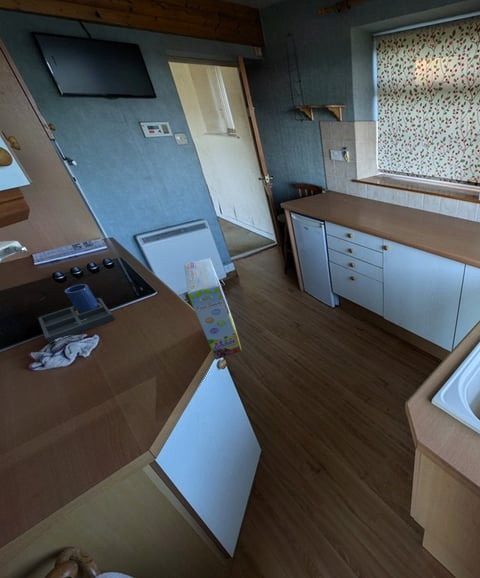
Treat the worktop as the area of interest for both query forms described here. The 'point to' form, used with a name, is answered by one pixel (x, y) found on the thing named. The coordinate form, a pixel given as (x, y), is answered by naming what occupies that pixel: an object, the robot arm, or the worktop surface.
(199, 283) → the snack box
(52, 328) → the grey divided tray
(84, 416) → the worktop surface
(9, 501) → the worktop surface
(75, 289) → the cup
